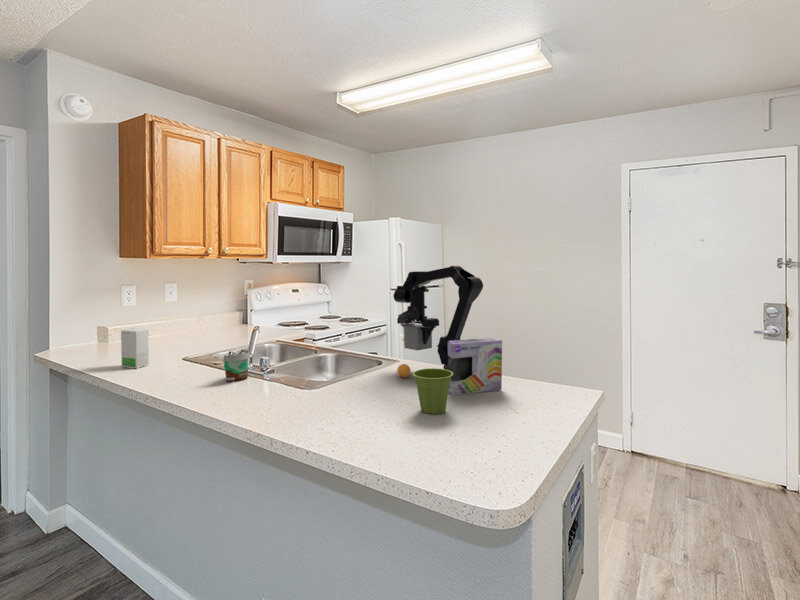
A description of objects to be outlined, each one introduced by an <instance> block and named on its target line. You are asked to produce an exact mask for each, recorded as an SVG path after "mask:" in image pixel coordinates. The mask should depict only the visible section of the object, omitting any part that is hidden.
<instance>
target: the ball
mask: <svg viewBox="0 0 800 600" xmlns="http://www.w3.org/2000/svg"><path fill="white" fill-rule="evenodd" d="M396 369H397V371H396V373H397V374H398V376H399V377H401V378H407V377H408V376H410V375H411V367H410V366H409V365H408V364H406V363H403V364H399V366H398V367H397V368H396Z"/></svg>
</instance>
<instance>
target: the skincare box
mask: <svg viewBox="0 0 800 600" xmlns="http://www.w3.org/2000/svg"><path fill="white" fill-rule="evenodd" d="M120 336H121V337H120V340H121V341H120V345H121V351H120V352H121V368H125V367H127V368H126V369H133V368H138V369H141V368H140V367H142V368H144V367H143V366H146V367H148V366H147V365H150V360H149V359H150V353H149V352H150V350H149V349H150V347H149V345H150V344H149V338H150V337H149V329H145V328H134V327H132V328H128V329H127V328H126V329H122V330H120Z"/></svg>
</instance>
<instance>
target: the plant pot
mask: <svg viewBox="0 0 800 600" xmlns="http://www.w3.org/2000/svg"><path fill="white" fill-rule="evenodd" d="M412 376H414V380H415V384H416V388H417V394H418V400H419V405H420V411H421V412H423V413H425V414H432V415H438V414H443V413H445V411H446V409H447V403H448V398H449V397H448V396H449V392H448V390H449V384H450V382H451V376H453V372H451V371H449V370H445V369H444V368H437V367H435V368H433V367H432V368H422V369H421V368H420V369H417V370H415V371H413V372H412Z"/></svg>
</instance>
